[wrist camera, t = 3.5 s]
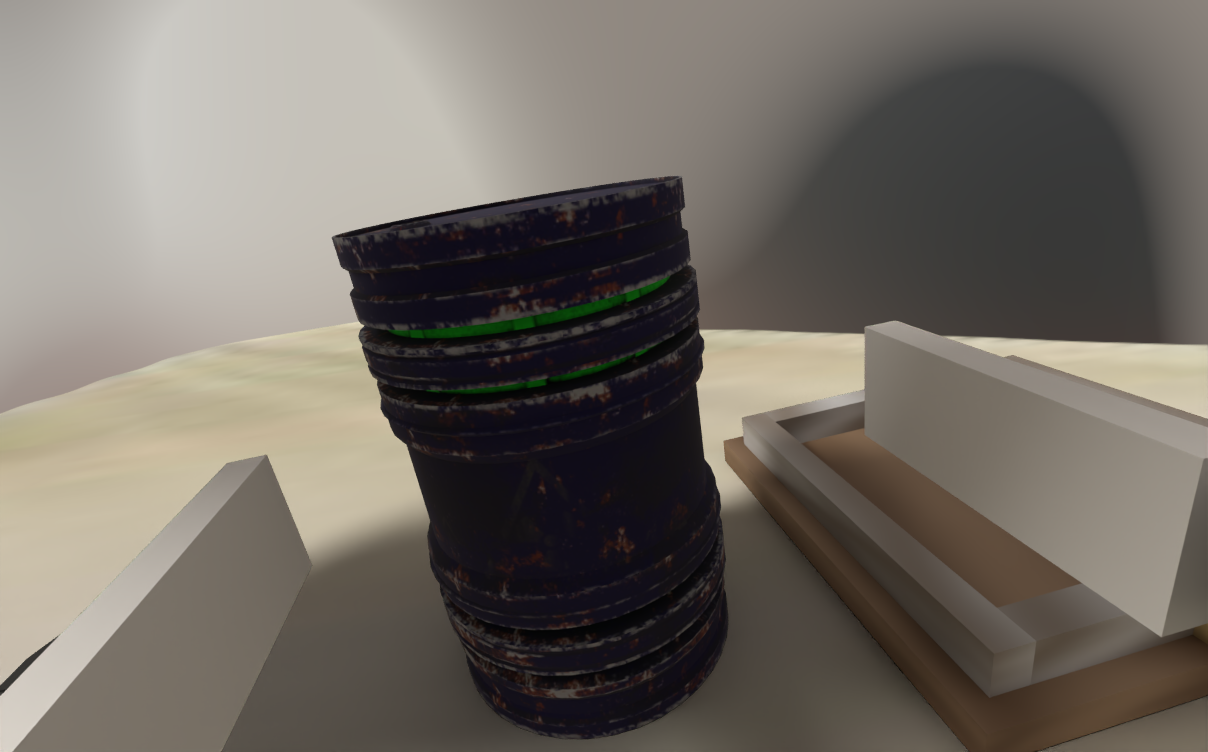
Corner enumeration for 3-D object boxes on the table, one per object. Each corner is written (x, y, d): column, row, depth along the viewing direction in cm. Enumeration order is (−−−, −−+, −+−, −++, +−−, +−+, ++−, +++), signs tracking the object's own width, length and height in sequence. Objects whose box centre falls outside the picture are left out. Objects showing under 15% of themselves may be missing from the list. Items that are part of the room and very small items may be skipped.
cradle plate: (983, 768, 14) (992, 689, 13) (725, 460, 30) (721, 415, 29) (1512, 596, 16) (1551, 516, 15) (1008, 393, 32) (1013, 348, 31)
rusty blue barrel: (672, 511, 27) (626, 179, 21) (789, 674, 18) (759, 168, 12) (460, 575, 25) (354, 227, 20) (469, 795, 16) (277, 255, 11)
